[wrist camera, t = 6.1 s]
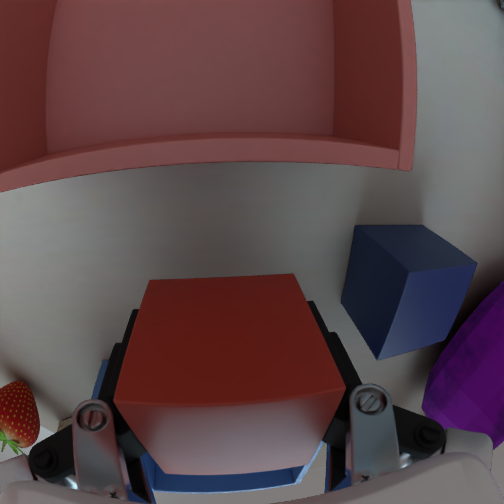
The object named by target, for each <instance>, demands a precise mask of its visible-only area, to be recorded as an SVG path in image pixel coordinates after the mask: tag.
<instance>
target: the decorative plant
mask: <svg viewBox="0 0 504 504" xmlns="http://www.w3.org/2000/svg"><path fill="white" fill-rule="evenodd" d="M422 409H423V411H424V412H425V414H426V415H427V417H428V418H431V419H433V420H435V421H437V422H439V423H440V424H441V425H442V427H443V429H447V428H448V427H451V428H456V429H461V430H466V431H472V432H478V433H484V434H486V435H488V436H489V437H490V438H491V440H492V442H493V450H494V449H495V448H496V447H498V446H499V445H500V444H501V443H502V442H503V441H504V281H503V282H502V283H501V284H500V285H499V286H498V287H497V288H495V289H494V290H493V291H492V292H491V293H490V294H489V295H488V296H487V297H486V298H485V299H484V300H483V301H482V302H481V303H480V305H479V306H478V307H477V308H476V309H475V311H474V312H473V313H472V314H471V315H470V316H469V318H468V319H467V320H466V321H465V322H464V323H463V324H462V325H461V327H460V328H459V330H458V331H457V332H456V334H455V335H454V337H453V338H452V339H451V341H450V342H449V343H448V345H447V346H446V347H445V349H444V350H443V351H442V353H441V355H440V356H439V358H438V360H437V362H436V363H435V365H434V367H433V368H432V370H431V372H430V373H429V377H428V380H427V384H426V387H425V392H424V398H423V403H422Z"/></svg>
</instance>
